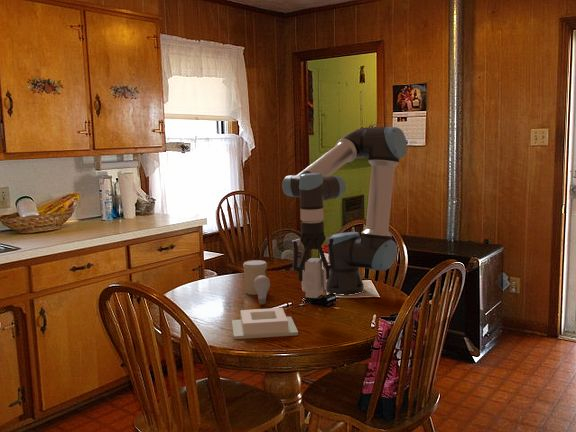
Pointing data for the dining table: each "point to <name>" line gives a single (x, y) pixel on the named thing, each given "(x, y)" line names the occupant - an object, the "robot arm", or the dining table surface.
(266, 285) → the lightbulb
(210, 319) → the dining table surface
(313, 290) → the skincare box
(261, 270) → the coffee cup
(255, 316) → the holder
